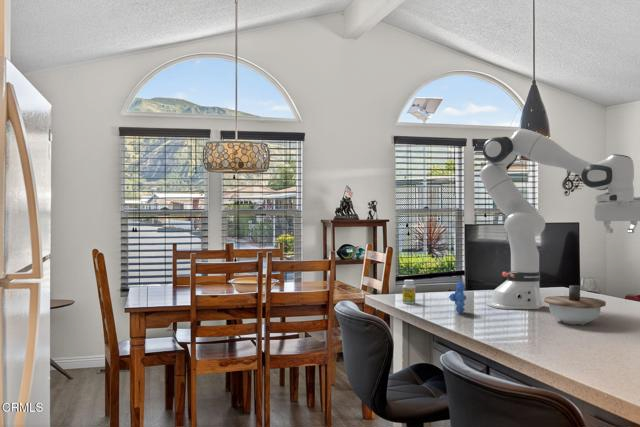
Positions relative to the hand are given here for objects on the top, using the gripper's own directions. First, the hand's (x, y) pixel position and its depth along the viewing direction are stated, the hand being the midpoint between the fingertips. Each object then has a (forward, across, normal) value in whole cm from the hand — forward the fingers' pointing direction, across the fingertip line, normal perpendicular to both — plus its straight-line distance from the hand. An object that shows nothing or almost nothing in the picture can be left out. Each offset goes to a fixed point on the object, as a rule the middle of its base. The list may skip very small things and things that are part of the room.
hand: (620, 233), depth 228 cm
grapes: (+31, +60, -14) cm, 69 cm away
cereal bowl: (+31, +27, +11) cm, 43 cm away
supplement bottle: (+31, +70, -40) cm, 86 cm away
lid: (+24, +27, +11) cm, 38 cm away
